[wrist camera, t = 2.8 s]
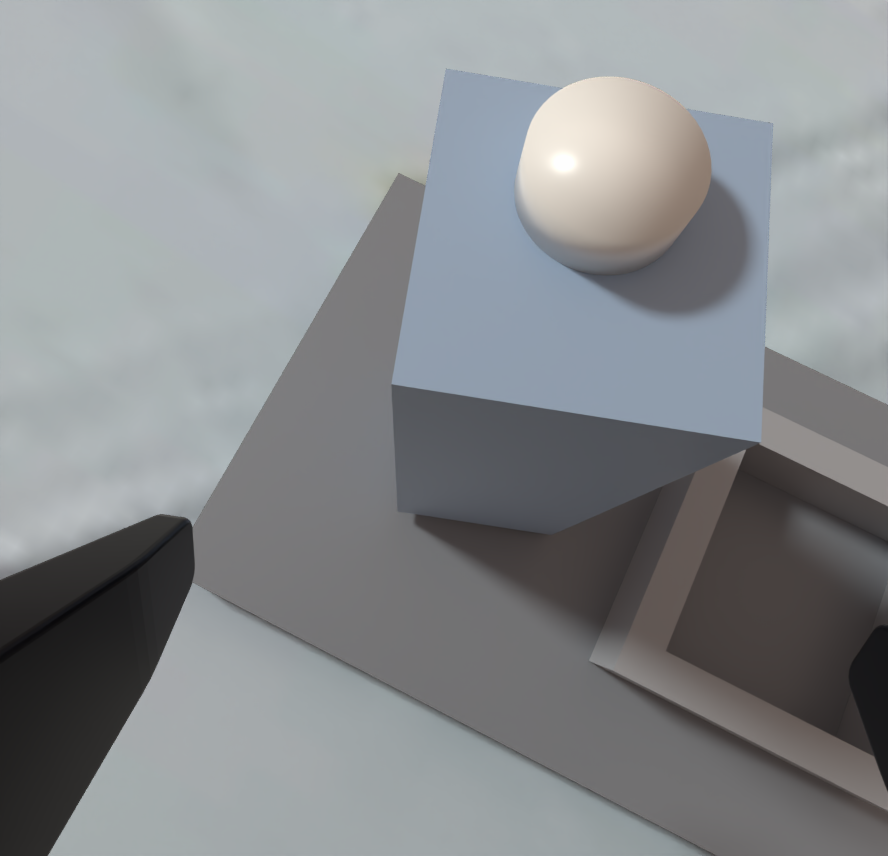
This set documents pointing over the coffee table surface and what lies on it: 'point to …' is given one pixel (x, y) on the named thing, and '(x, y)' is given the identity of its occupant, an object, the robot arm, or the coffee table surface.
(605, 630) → the plate
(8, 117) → the coffee table surface
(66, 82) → the coffee table surface
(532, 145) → the block
